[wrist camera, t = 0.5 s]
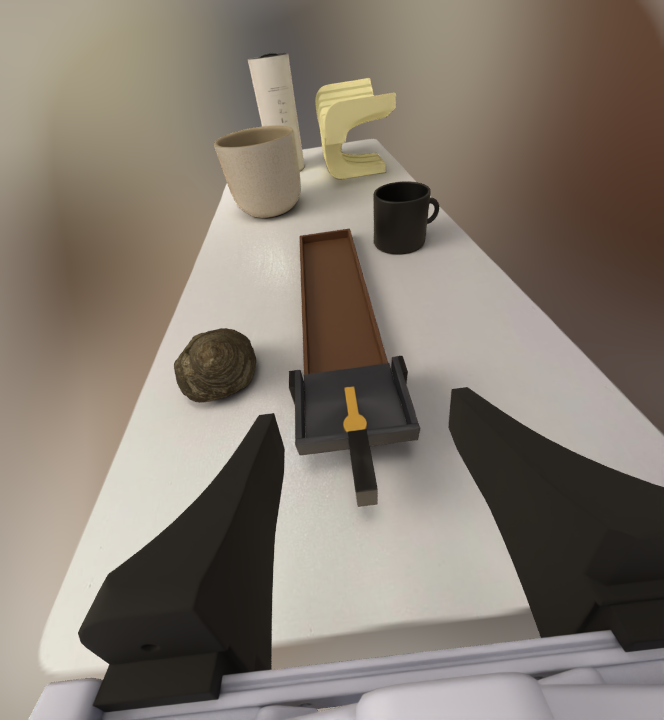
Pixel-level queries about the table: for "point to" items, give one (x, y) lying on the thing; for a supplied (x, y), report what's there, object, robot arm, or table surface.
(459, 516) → the table surface
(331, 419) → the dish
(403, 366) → the bracket
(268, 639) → the robot arm
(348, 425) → the spoon
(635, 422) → the table surface
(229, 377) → the seashell
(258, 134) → the planter
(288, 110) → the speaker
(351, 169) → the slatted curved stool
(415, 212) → the mug
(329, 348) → the tray
